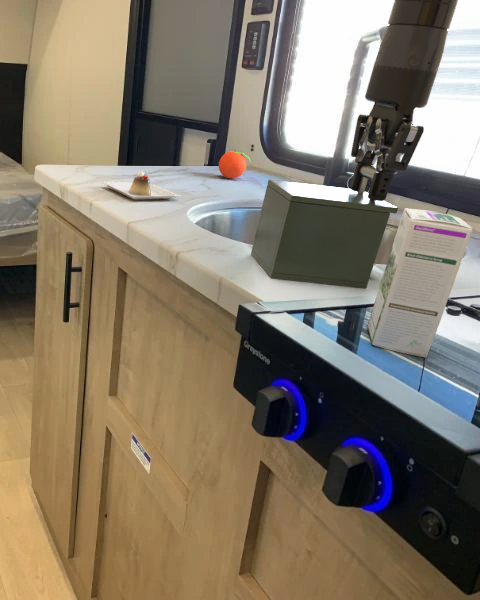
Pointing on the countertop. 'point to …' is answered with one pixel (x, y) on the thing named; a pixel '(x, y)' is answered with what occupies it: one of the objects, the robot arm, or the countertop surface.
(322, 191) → the bin lid
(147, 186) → the dessert
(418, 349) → the syrup box
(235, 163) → the clementine
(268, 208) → the trash bin
